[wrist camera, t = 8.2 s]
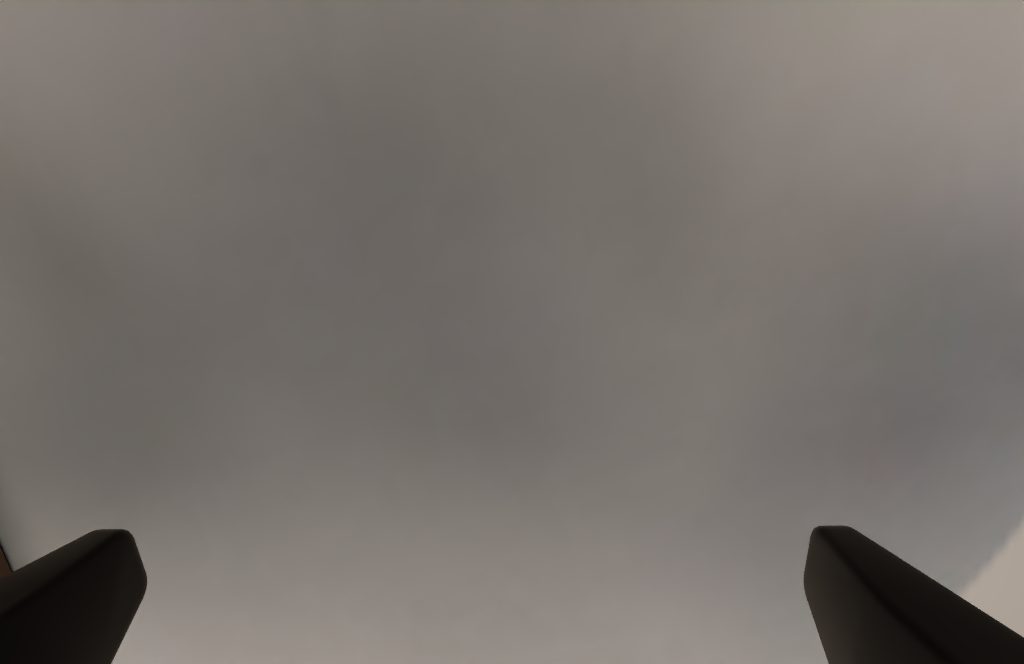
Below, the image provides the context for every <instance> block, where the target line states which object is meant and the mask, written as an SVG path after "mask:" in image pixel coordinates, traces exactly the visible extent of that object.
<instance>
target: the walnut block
mask: <svg viewBox="0 0 1024 664" xmlns="http://www.w3.org/2000/svg"><path fill="white" fill-rule="evenodd" d="M10 573H12V572H11V570H10V568H9V565H8V563H7V561H6V559H5V556H4V554H3V552H2V549H1V547H0V578H2V577H4V576H6V575H8V574H10Z"/></svg>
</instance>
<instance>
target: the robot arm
mask: <svg viewBox="0 0 1024 664" xmlns="http://www.w3.org/2000/svg"><path fill="white" fill-rule="evenodd" d="M146 587H147V575H146V572H145V569H144V566H143V563H142V560H141V557H140V554H139V551H138V548H137V545H136V542H135V539H134V537H133V535H132V534H131V533H130V532H129V531H127V530H123V529H101V530H95V531H92V532H90V533H88V534H86V535H84V536H82V537H80V538H78V539H76V540H74V541H72V542H70V543H68V544H67V545H65V546H63V547H61V548H59V549H57V550H55V551H53V552H51V553H49V554H47V555H45V556H43V557H41V558H39V559H37V560H35V561H33V562H31V563H29V564H28V565H26V566H24V567H22V568H20V569H18V570H16V571H14V572H12V573H10V574H8V575H6V576H4V577H2V578H0V664H111V663H112V661H113V659H114V657H115V655H116V653H117V651H118V648H119V646H120V644H121V642H122V640H123V638H124V636H125V634H126V632H127V630H128V628H129V626H130V624H131V622H132V620H133V618H134V616H135V614H136V612H137V609H138V607H139V605H140V603H141V601H142V599H143V597H144V595H145V591H146ZM804 589H805V594H806V597H807V601H808V603H809V606H810V609H811V612H812V615H813V618H814V621H815V624H816V627H817V630H818V633H819V636H820V639H821V642H822V645H823V648H824V651H825V654H826V657H827V660H828V663H829V664H1024V637H1022V636H1020V635H1019V634H1017V633H1016V632H1014V631H1013V630H1011V629H1009V628H1008V627H1006V626H1005V625H1003V624H1002V623H1000V622H999V621H997V620H995V619H994V618H992V617H991V616H989V615H988V614H986V613H984V612H983V611H981V610H980V609H978V608H977V607H975V606H974V605H972V604H970V603H969V602H967V601H966V600H964V599H963V598H961V597H960V596H958V595H956V594H955V593H953V592H952V591H950V590H949V589H947V588H945V587H944V586H942V585H941V584H939V583H938V582H936V581H935V580H933V579H931V578H930V577H928V576H927V575H925V574H924V573H922V572H921V571H919V570H917V569H916V568H914V567H913V566H911V565H910V564H908V563H906V562H905V561H903V560H902V559H900V558H899V557H897V556H896V555H894V554H892V553H891V552H889V551H888V550H886V549H885V548H883V547H882V546H880V545H878V544H877V543H875V542H874V541H872V540H871V539H869V538H867V537H866V536H864V535H863V534H861V533H860V532H858V531H857V530H855V529H853V528H851V527H849V526H818V527H816V528H814V529H813V531H812V533H811V536H810V542H809V548H808V554H807V560H806V566H805V571H804Z"/></svg>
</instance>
